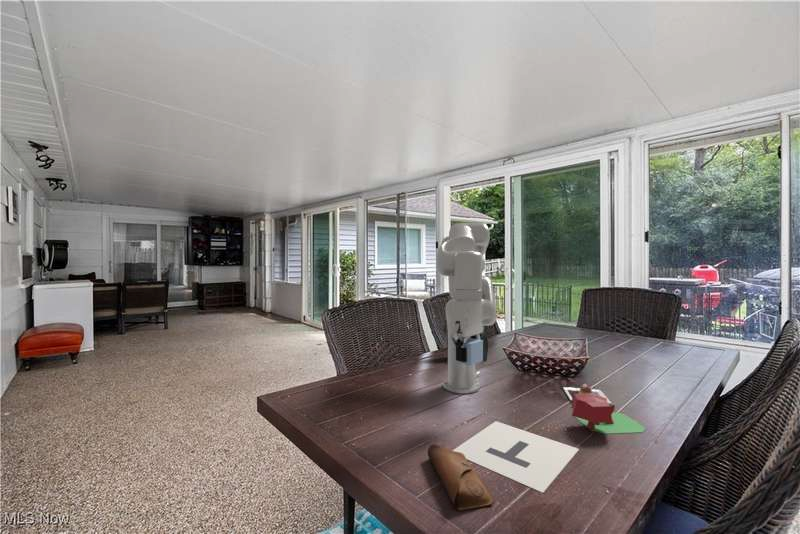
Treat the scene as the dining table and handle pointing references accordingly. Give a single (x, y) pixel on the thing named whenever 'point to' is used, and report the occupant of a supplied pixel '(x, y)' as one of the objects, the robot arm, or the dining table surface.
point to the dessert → (584, 391)
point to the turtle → (602, 415)
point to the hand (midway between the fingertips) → (467, 358)
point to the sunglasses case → (459, 479)
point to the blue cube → (471, 351)
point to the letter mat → (518, 454)
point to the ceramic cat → (483, 337)
